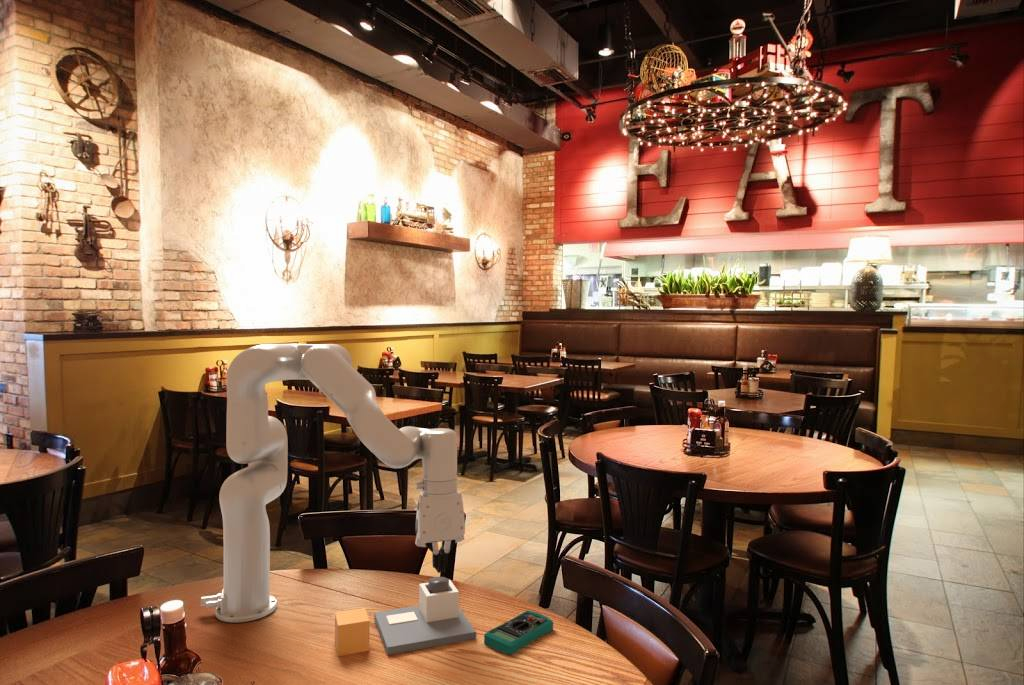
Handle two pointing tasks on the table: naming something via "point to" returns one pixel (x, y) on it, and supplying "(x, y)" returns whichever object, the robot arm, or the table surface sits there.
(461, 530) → the robot arm
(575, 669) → the table surface
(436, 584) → the breaker button
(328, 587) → the table surface
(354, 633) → the orange foam cube
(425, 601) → the board
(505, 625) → the digital multimeter
